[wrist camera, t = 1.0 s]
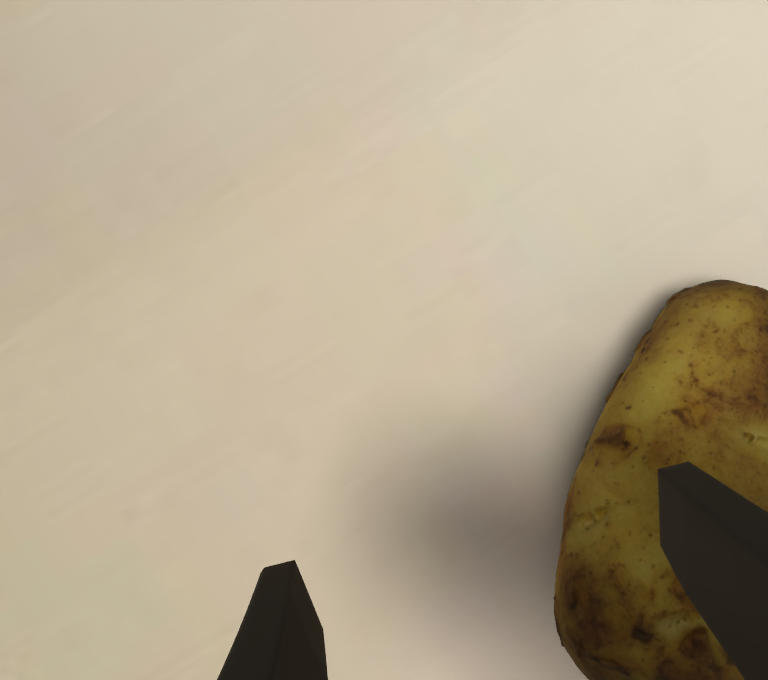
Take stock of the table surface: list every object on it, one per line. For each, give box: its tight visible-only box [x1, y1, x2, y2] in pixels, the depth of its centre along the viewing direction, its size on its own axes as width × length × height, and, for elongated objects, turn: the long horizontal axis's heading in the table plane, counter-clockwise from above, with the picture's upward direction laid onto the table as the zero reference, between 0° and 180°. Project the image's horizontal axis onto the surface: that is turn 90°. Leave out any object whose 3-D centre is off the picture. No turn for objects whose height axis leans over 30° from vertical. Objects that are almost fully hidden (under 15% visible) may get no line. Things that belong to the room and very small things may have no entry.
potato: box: [554, 280, 768, 680], centre depth 20 cm, size 8×13×8 cm, turn 144°
